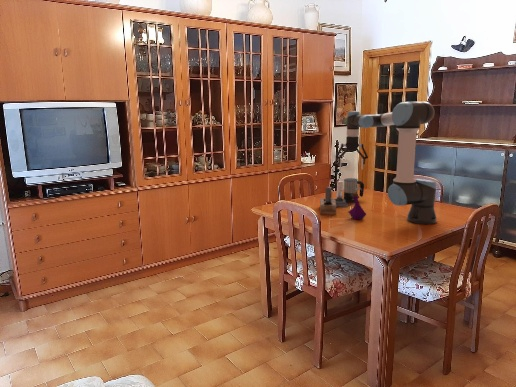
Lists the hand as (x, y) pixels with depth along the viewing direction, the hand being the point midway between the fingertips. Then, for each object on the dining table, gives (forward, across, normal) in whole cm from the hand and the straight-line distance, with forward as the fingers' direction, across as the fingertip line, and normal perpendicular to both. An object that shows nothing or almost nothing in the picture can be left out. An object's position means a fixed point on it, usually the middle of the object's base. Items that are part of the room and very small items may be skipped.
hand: (351, 169), depth 259 cm
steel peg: (+21, +7, +5) cm, 23 cm away
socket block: (+23, +7, +5) cm, 24 cm away
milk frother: (+23, 0, -10) cm, 25 cm away
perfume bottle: (+22, -2, +36) cm, 42 cm away
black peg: (+21, +14, +25) cm, 35 cm away
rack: (+22, +14, +20) cm, 34 cm away
